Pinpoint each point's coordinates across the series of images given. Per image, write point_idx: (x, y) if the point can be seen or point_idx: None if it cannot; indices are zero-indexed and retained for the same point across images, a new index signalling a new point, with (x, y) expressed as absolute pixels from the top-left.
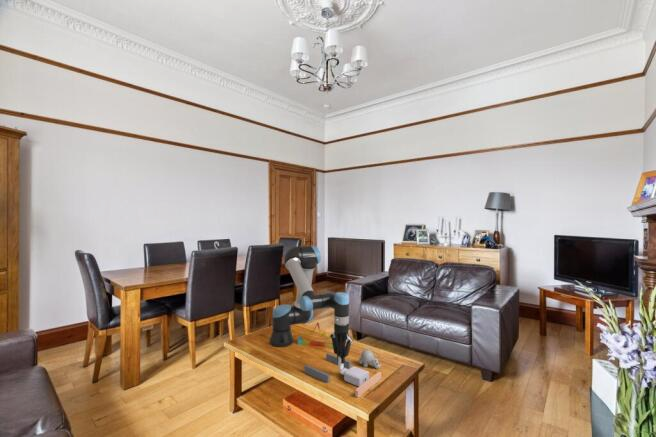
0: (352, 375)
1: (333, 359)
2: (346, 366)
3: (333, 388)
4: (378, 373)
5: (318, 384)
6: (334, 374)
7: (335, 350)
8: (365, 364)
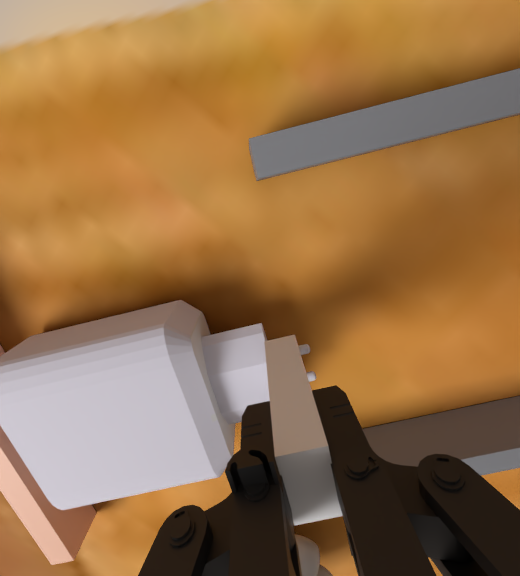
0: (69, 359)
1: (495, 426)
2: None
3: (136, 132)
4: (48, 543)
5: (285, 41)
6: (328, 299)
7: (470, 541)
8: None
